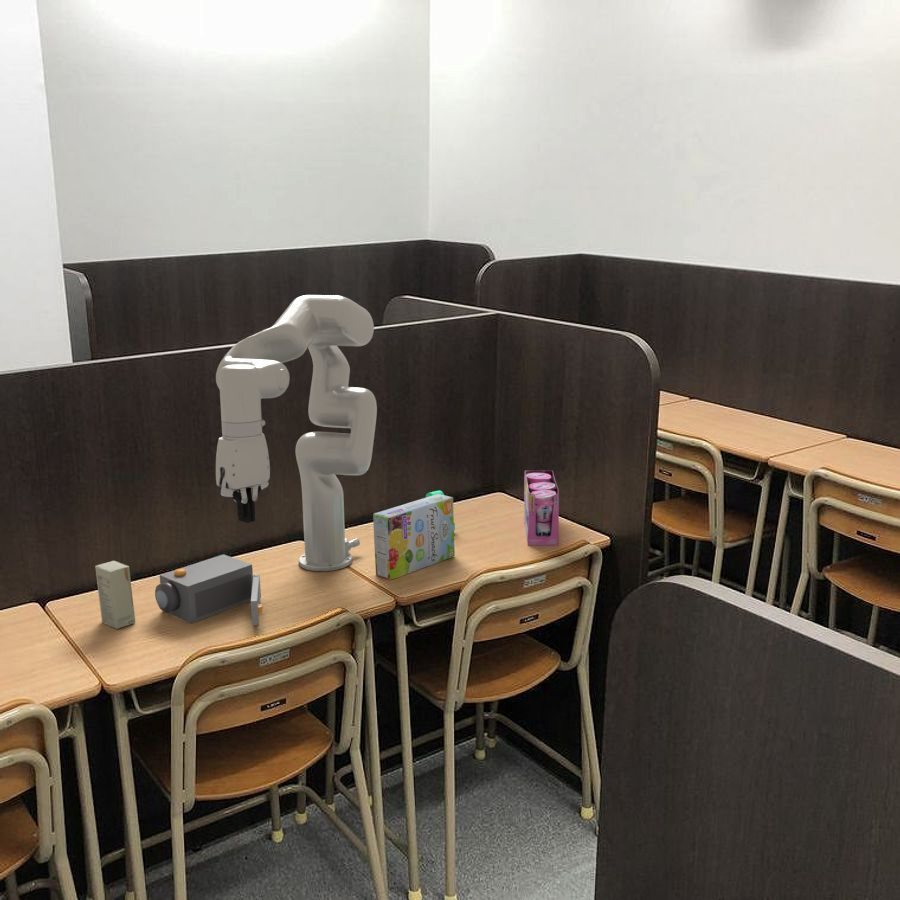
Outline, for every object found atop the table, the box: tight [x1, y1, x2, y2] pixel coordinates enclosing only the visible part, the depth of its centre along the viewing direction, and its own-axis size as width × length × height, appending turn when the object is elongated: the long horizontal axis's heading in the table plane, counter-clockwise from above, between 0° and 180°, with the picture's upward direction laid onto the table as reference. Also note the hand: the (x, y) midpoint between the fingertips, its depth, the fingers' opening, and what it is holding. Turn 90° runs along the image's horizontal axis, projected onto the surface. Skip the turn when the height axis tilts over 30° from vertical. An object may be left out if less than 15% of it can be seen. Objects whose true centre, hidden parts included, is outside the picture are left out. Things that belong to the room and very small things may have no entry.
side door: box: [250, 573, 263, 626], centre depth 194 cm, size 15×2×5 cm, turn 9°
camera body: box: [154, 553, 254, 624], centre depth 198 cm, size 19×10×9 cm, turn 139°
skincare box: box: [94, 560, 136, 630], centre depth 190 cm, size 6×4×12 cm
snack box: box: [372, 494, 456, 581], centre depth 220 cm, size 21×6×15 cm, turn 136°
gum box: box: [523, 469, 560, 546], centre depth 243 cm, size 24×8×14 cm, turn 178°
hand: (246, 520), depth 185 cm, fingers closed
